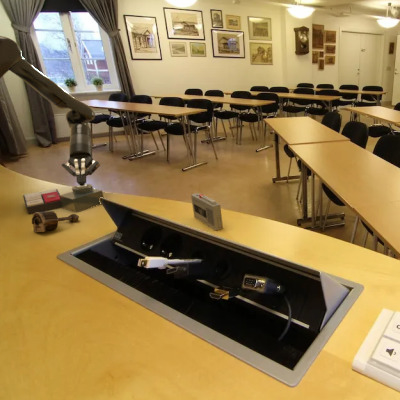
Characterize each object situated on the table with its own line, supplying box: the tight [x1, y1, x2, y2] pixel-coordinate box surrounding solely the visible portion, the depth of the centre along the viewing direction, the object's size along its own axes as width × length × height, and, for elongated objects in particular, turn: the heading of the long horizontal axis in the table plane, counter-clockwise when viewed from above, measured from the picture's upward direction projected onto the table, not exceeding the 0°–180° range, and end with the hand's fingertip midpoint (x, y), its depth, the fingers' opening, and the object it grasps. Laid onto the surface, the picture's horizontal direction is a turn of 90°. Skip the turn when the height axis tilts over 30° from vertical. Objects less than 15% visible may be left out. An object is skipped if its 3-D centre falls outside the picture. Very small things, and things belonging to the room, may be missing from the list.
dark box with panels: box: [22, 188, 63, 215], centre depth 127 cm, size 11×4×15 cm
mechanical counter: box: [31, 210, 80, 233], centre depth 109 cm, size 7×13×10 cm
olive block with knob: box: [59, 183, 105, 214], centre depth 127 cm, size 11×9×8 cm
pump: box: [75, 183, 88, 188], centre depth 127 cm, size 4×4×2 cm
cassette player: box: [190, 192, 224, 232], centre depth 113 cm, size 16×3×10 cm, turn 47°
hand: (81, 184), depth 127 cm, fingers closed
